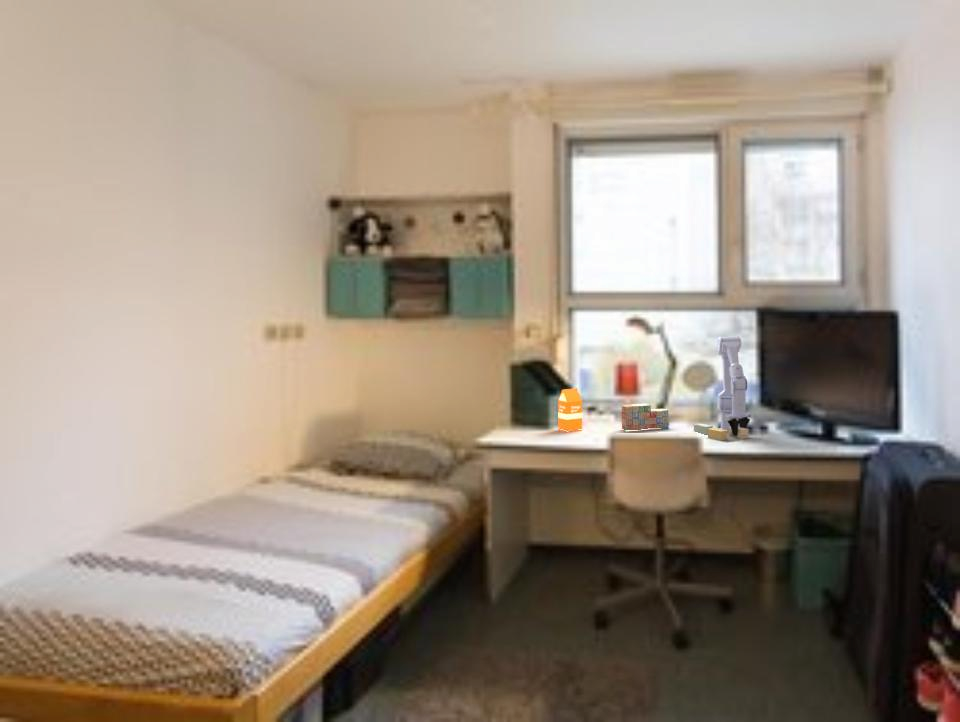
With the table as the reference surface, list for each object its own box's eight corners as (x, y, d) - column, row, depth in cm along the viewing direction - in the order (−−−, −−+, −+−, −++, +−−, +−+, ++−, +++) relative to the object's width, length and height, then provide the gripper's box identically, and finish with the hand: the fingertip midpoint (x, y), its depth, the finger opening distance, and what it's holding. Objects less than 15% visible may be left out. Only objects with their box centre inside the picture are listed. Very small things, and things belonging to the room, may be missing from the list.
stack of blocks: (663, 427, 429) (663, 402, 427) (668, 429, 422) (668, 404, 421) (621, 429, 424) (621, 404, 423) (626, 432, 418) (626, 406, 417)
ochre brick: (707, 437, 398) (707, 428, 397) (714, 436, 400) (714, 427, 399) (720, 440, 391) (720, 431, 390) (727, 439, 393) (727, 430, 392)
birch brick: (728, 436, 400) (728, 427, 399) (735, 435, 402) (735, 426, 401) (742, 438, 393) (742, 429, 393) (748, 437, 395) (748, 428, 395)
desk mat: (710, 430, 417) (710, 429, 417) (753, 439, 394) (753, 438, 394) (684, 434, 409) (684, 433, 409) (727, 443, 386) (727, 442, 386)
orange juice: (558, 429, 428) (557, 388, 426) (573, 427, 432) (572, 387, 430) (567, 432, 421) (566, 390, 419) (582, 430, 425) (582, 389, 423)
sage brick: (693, 432, 409) (693, 424, 409) (700, 431, 411) (700, 423, 411) (706, 435, 403) (706, 426, 402) (712, 434, 405) (712, 425, 404)
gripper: (733, 407, 389) (733, 437, 390) (757, 404, 396) (757, 434, 397) (721, 405, 395) (721, 435, 396) (745, 402, 402) (745, 431, 403)
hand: (738, 434), depth 397 cm, fingers closed on birch brick, 4 cm apart
